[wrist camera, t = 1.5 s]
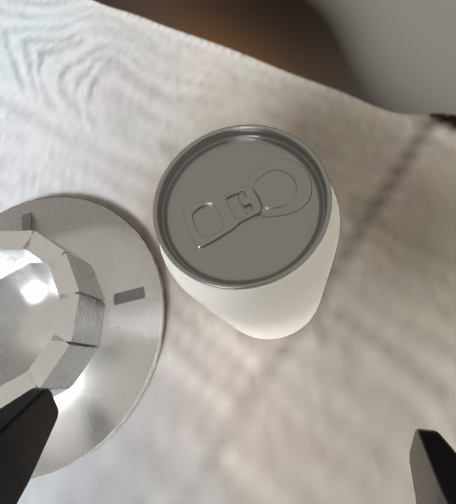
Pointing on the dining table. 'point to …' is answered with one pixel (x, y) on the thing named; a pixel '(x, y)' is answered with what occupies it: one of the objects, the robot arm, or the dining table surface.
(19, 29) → the dining table surface
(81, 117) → the dining table surface
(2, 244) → the rosette
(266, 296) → the can
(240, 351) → the dining table surface
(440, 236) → the dining table surface
